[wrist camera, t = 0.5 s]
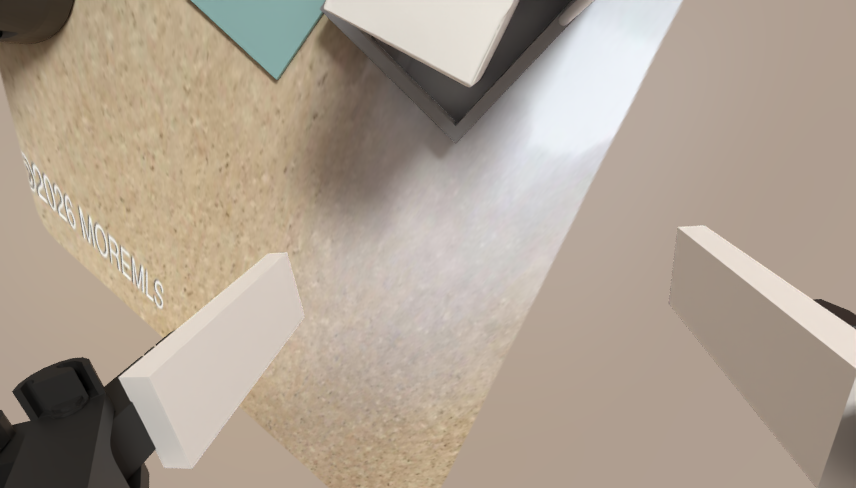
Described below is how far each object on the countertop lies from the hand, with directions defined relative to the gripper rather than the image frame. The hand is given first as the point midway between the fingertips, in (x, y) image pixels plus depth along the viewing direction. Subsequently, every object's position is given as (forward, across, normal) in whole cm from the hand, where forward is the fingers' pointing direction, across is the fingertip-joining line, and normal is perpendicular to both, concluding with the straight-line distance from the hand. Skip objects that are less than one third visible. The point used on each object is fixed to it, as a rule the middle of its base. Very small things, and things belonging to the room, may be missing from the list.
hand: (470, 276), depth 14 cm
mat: (+25, -17, +15) cm, 34 cm away
